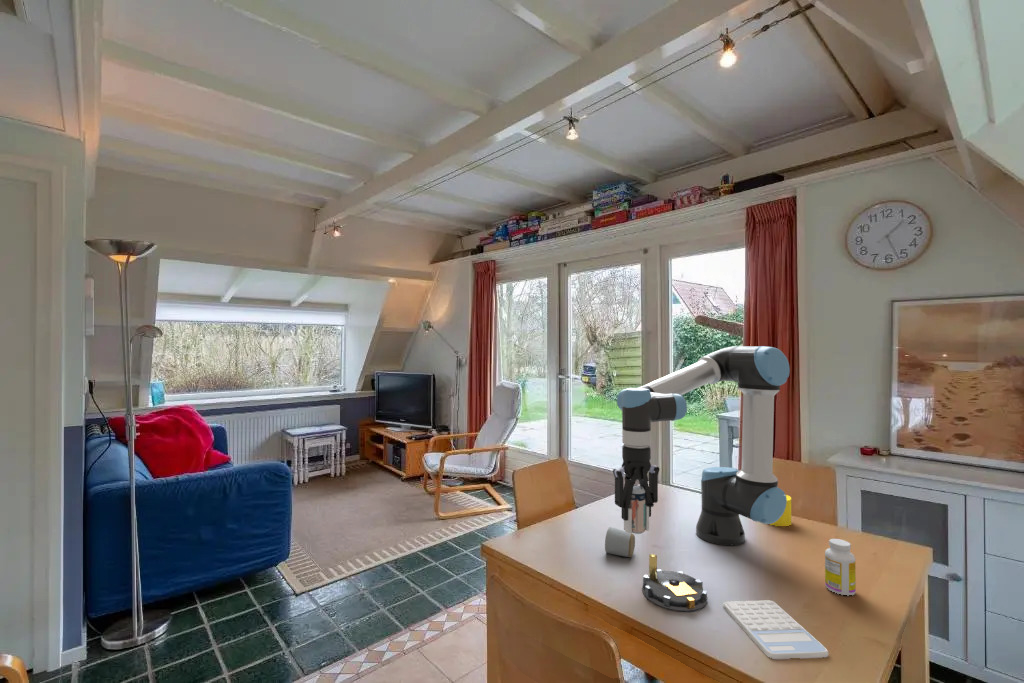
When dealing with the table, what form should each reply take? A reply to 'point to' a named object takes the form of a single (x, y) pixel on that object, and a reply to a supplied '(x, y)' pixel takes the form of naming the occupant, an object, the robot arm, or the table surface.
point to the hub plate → (674, 608)
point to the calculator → (774, 630)
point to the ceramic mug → (619, 542)
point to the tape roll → (785, 515)
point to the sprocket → (673, 586)
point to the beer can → (638, 509)
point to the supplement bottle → (840, 568)
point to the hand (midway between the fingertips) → (636, 529)
